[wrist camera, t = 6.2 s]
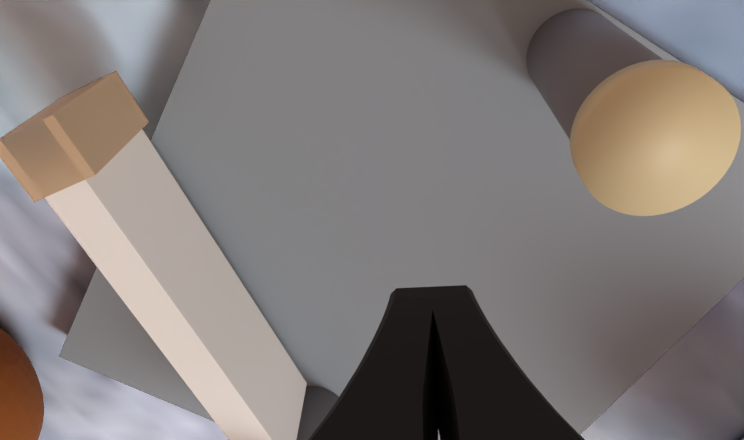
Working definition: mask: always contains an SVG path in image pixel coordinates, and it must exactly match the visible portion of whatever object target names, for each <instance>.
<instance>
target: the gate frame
mask: <svg viewBox="0 0 744 440" xmlns="http://www.w3.org/2000/svg"><path fill="white" fill-rule="evenodd" d="M150 142H151V143H152V145H153V146H154V148H155V150H156V151H157V153H158V154H159V156H160V157H161V159H162V160H163V162H164V163H165V165H166V167H167V168H168V170H169V171H170V173H171V174H172V176H173V177H174V179H175V180H176V182H177V184H178V185H179V187H180V188H181V190H182V191H183V193H184V194H185V196H186V197H187V199H188V200H189V202H190V204H191V205H192V207H193V208H194V210H195V211H196V213H197V214H198V216H199V217H200V219H201V221H202V222H203V224H204V225H205V227H206V228H207V230H208V231H209V233H210V234H211V236H212V238H213V239H214V241H215V242H216V244H217V245H218V247H219V248H220V250H221V251H222V253H223V255H224V256H225V258H226V259H227V261H228V262H229V264H230V265H231V267H232V268H233V270H234V271H235V273H236V275H237V276H238V278H239V279H240V281H241V282H242V284H243V285H244V287H245V288H246V290H247V292H248V293H249V295H250V296H251V298H252V299H253V301H254V302H255V304H256V305H257V307H258V309H259V310H260V312H261V313H262V315H263V316H264V318H265V319H266V321H267V322H268V324H269V326H270V327H271V329H272V330H273V332H274V333H275V335H276V336H277V338H278V339H279V341H280V343H281V344H282V346H283V347H284V349H285V350H286V352H287V353H288V355H289V356H290V358H291V359H292V361H293V363H294V364H295V366H296V367H297V369H298V370H299V372H300V373H301V375H302V376H303V378H304V380H305V381H306V383H307V385H306V391H305V396H304V402H303V407H302V412H301V418H300V423H299V429H298V434H297V439H296V440H308V439H309V438H310V437H311V435H312V434H313V433H314V431H315V430H316V429H317V428H318V426H319V425H320V424H321V422H322V421H323V420H324V418H325V417H326V415H327V414H328V413H329V411H330V410H331V408H332V407H333V406H334V404H335V403H336V401H337V400H338V398H339V397H340V395H341V393H342V392H343V390H344V389H345V387H346V385H347V384H348V382H349V381H350V379H351V377H352V376H353V374H354V373H355V371H356V369H357V368H358V366H359V364H360V362H361V360H362V359H363V357H364V355H365V353H366V351H367V349H368V347H369V345H370V343H371V341H372V340H373V338H374V336H375V334H376V331H377V329H378V327H379V325H380V323H381V320H382V318H383V316H384V313H385V310H386V308H387V305H388V302H389V298H390V294H391V293H392V292H393V291H394V290H395V289H396V288H412V287H435V286H457V285H467V286H468V287H469V288H470V289H471V290H472V291H473V293H474V296H475V298H476V300H477V302H478V304H479V306H480V308H481V310H482V311H483V313H484V315H485V317H486V318H487V320H488V322H489V323H490V325H491V326H492V328H493V330H494V331H495V333H496V334H497V336H498V337H499V339H500V340H501V342H502V343H503V345H504V346H505V347H506V349H507V350H508V351H509V353H510V354H511V356H512V357H513V358H514V360H515V361H516V363H517V364H518V365H519V367H520V368H521V369H522V370H523V372H524V373H525V374H526V376H527V377H528V378H529V379H530V381H531V382H532V383H533V384H534V385H535V387H536V388H537V389H538V390H539V391H540V393H541V394H542V395H543V396H544V397H545V398H546V400H547V401H548V402H549V403H550V404H551V405H552V406H553V407H554V409H555V410H556V411H557V412H558V413H559V414H560V415H561V416H562V417H563V418H564V419H565V420H566V421H567V422H568V423H569V424H570V425H571V426H572V427H573V428H574V429H575V430H576V431H577V432H578V434H579V435H580V434H581V433H582V432H583V431H584V430H585V429H587V428H588V427H589V426H590V425H591V424H592V423H593V422H594V421H595V420H596V419H597V418H598V417H599V416H600V415H601V414H602V413H603V412H604V411H605V410H606V409H607V408H608V407H609V406H611V405H612V404H613V403H614V402H615V401H616V400H617V399H618V398H619V397H620V396H621V395H622V394H623V393H624V392H625V391H626V390H627V389H628V388H629V387H630V386H631V385H632V384H633V383H635V382H636V381H637V380H638V379H639V378H640V377H641V376H642V375H643V374H644V373H645V372H646V371H647V370H648V369H649V368H650V367H651V366H652V365H653V364H654V363H655V362H656V361H657V360H659V359H660V358H661V357H662V356H663V355H664V354H665V353H666V352H667V351H668V350H669V349H670V348H671V347H672V346H673V345H674V344H675V343H676V342H677V341H678V340H679V339H680V338H681V337H683V336H684V335H685V334H686V333H687V332H688V331H689V330H690V329H691V328H692V327H693V326H694V325H695V324H696V323H697V322H698V321H699V320H700V319H701V318H702V317H703V316H704V315H705V314H707V313H708V312H709V311H710V310H711V309H712V308H713V307H714V306H715V305H716V304H717V303H718V302H719V301H720V300H721V299H722V298H723V297H724V296H725V295H726V294H727V293H728V292H729V291H731V290H732V289H733V288H734V287H735V286H736V285H737V284H738V283H739V282H740V281H741V280H742V279H743V278H744V102H742V101H741V100H739V99H737V98H736V97H734V96H733V95H731V94H730V93H729V92H728V91H727V90H726V89H725V88H724V87H723V86H722V85H721V84H720V83H718V82H717V81H716V80H714V79H713V78H711V77H710V76H708V75H707V74H705V73H704V72H702V71H701V70H699V69H697V68H695V67H694V66H692V65H689V64H686V63H683V62H681V61H679V60H678V59H676V58H675V57H673V56H672V55H670V54H669V53H667V52H666V51H664V50H662V49H661V48H659V47H658V46H656V45H655V44H653V43H652V42H650V41H649V40H647V39H646V38H644V37H643V36H641V35H639V34H638V33H636V32H635V31H633V30H632V29H630V28H629V27H627V26H626V25H624V24H623V23H621V22H620V21H618V20H616V19H615V18H613V17H612V16H610V15H609V14H607V13H606V12H604V11H603V10H601V9H600V8H598V7H597V6H595V5H594V4H592V3H590V2H589V1H587V0H210V3H209V5H208V7H207V10H206V12H205V14H204V17H203V19H202V21H201V24H200V26H199V28H198V31H197V33H196V35H195V38H194V40H193V42H192V45H191V47H190V50H189V52H188V54H187V57H186V59H185V61H184V64H183V66H182V68H181V71H180V73H179V75H178V78H177V80H176V82H175V85H174V87H173V89H172V92H171V94H170V96H169V99H168V101H167V103H166V106H165V108H164V111H163V113H162V115H161V118H160V120H159V122H158V125H157V127H156V129H155V132H154V134H153V136H152V139H151V141H150ZM59 357H62V358H64V359H66V360H69V361H71V362H74V363H76V364H78V365H81V366H83V367H86V368H88V369H90V370H93V371H95V372H97V373H100V374H102V375H105V376H107V377H109V378H112V379H114V380H116V381H119V382H121V383H124V384H126V385H128V386H131V387H133V388H136V389H138V390H140V391H143V392H145V393H147V394H150V395H152V396H155V397H157V398H159V399H162V400H164V401H166V402H169V403H171V404H174V405H176V406H178V407H181V408H183V409H186V410H188V411H190V412H193V413H195V414H197V415H200V416H202V417H205V418H207V419H209V420H212V421H214V420H213V418H212V417H211V416H210V414H209V413H208V412H207V410H206V409H205V408H204V407H203V405H202V404H201V403H200V401H199V400H198V399H197V397H196V396H195V395H194V393H193V392H192V391H191V389H190V388H189V387H188V386H187V384H186V383H185V382H184V380H183V379H182V378H181V376H180V375H179V374H178V372H177V371H176V370H175V368H174V367H173V366H172V365H171V363H170V362H169V361H168V359H167V358H166V357H165V355H164V354H163V353H162V351H161V350H160V349H159V347H158V346H157V345H156V344H155V342H154V341H153V340H152V338H151V337H150V336H149V334H148V333H147V332H146V330H145V329H144V328H143V326H142V325H141V324H140V323H139V321H138V320H137V319H136V317H135V316H134V315H133V313H132V312H131V311H130V309H129V308H128V307H127V305H126V304H125V303H124V301H123V300H122V299H121V298H120V296H119V295H118V294H117V292H116V291H115V290H114V288H113V287H112V286H111V284H110V283H109V282H108V280H107V279H106V278H105V277H104V275H103V274H102V273H101V271H100V270H99V269H98V267H97V268H96V270H95V272H94V275H93V277H92V280H91V282H90V284H89V287H88V289H87V291H86V294H85V296H84V298H83V301H82V303H81V305H80V308H79V310H78V312H77V315H76V317H75V319H74V322H73V324H72V326H71V329H70V331H69V333H68V336H67V338H66V341H65V343H64V345H63V348H62V350H61V352H60V355H59ZM214 422H215V421H214ZM438 440H440V435H439V429H438Z"/></svg>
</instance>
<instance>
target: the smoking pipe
mask: <svg viewBox="0 0 744 440" xmlns="http://www.w3.org/2000/svg"><path fill="white" fill-rule="evenodd" d="M43 416H44V403H43V394H42V390H41V386H40V383H39V380H38V377H37V374H36V372H35V370H34V368H33V366H32V364H31V362H30V360H29V358H28V357H27V355H26V354H25V352H24V351H23V350H22V348H21V347H20V346H19V345H18V344H17V343H16V342H15V341H14V340H13V339H12V338H11V337H10V336H9V335H8V334H7V333H6V332H5V331H3V330H2V329H0V440H38V438H39V435H40V431H41V428H42V423H43Z"/></svg>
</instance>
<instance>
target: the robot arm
mask: <svg viewBox="0 0 744 440" xmlns="http://www.w3.org/2000/svg"><path fill="white" fill-rule="evenodd" d="M438 429H439V435H440V440H585V439H583V438H582V437H581V436H580V435H579V434H578V432H577V431H576V430H575V429H574V428H573V427H572V426H571V425H570V424H569V423H568V422H567V421H566V420H565V419H564V418H563V417H562V416H561V415H560V414H559V413H558V412H557V411H556V410H555V409H554V407H553V406H552V405H551V404H550V403H549V402H548V401H547V400H546V398H545V397H544V396H543V395H542V394H541V393H540V391H539V390H538V389H537V388H536V387H535V385H534V384H533V383H532V382H531V381H530V379H529V378H528V377H527V376H526V374H525V373H524V372H523V370H522V369H521V368H520V367H519V365H518V364H517V363H516V361H515V360H514V358H513V357H512V356H511V354H510V353H509V351H508V350H507V349H506V347H505V346H504V345H503V343H502V342H501V340H500V339H499V337H498V336H497V334H496V333H495V331H494V330H493V328H492V326H491V325H490V323H489V322H488V320H487V318H486V317H485V315H484V313H483V311H482V310H481V308H480V306H479V304H478V302H477V300H476V298H475V296H474V293H473V291H472V290H471V289H470V288H469V287H468V286H467V285H457V286H435V287H412V288H396V289H395V290H394V291H393V292H392V293H391V294H390V298H389V302H388V305H387V308H386V310H385V313H384V316H383V318H382V320H381V323H380V325H379V327H378V329H377V331H376V334H375V336H374V338H373V340H372V341H371V343H370V345H369V347H368V349H367V351H366V353H365V355H364V357H363V359H362V360H361V362H360V364H359V366H358V368H357V369H356V371H355V373H354V374H353V376H352V377H351V379H350V381H349V382H348V384H347V385H346V387H345V389H344V390H343V392H342V393H341V395H340V397H339V398H338V400H337V401H336V403H335V404H334V406H333V407H332V408H331V410H330V411H329V413H328V414H327V415H326V417H325V418H324V420H323V421H322V422H321V424H320V425H319V426H318V428H317V429H316V430H315V431H314V433H313V434H312V435H311V437H310V438H309V439H308V440H438ZM742 440H744V438H743V439H742Z"/></svg>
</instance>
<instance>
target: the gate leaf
mask: <svg viewBox="0 0 744 440" xmlns="http://www.w3.org/2000/svg"><path fill="white" fill-rule="evenodd" d="M148 123H149V121H148V120H147V118H146V116H145V115H144V113H143V112H142V110H141V109H140V107H139V105H138V104H137V102H136V101H135V99H134V98H133V96H132V95H131V93H130V91H129V90H128V88H127V87H126V85H125V84H124V82H123V80H122V79H121V77H120V76H119V74H118V73H117V71H114V72H112V73H110V74H108V75H106V76H104V77H102V78H100V79H98V80H96V81H94V82H92V83H90V84H88V85H86V86H84V87H81V88H79V89H77V90H75V91H73V92H71V93H69V94H67V95H65V96H63V97H61V98H60V99H58V100H57V101H55V102H54V103H52V104H51V105H49V106H48V107H46V108H45V109H43V110H42V111H40V112H39V113H37V114H36V115H34V116H33V117H31V118H30V119H28V120H27V121H25V122H24V123H22V124H21V125H19V126H18V127H16V128H15V129H13V130H12V131H10V132H9V133H7V134H6V135H4V136H3V137H1V138H0V158H1V159H2V161H3V162H4V163H5V165H6V166H7V167H8V168H9V170H10V171H11V172H12V174H13V175H14V176H15V178H16V179H17V180H18V181H19V183H20V184H21V185H22V187H23V188H24V189H25V190H26V192H27V193H28V194H29V196H30V197H31V198H32V200H33V201H34V202H36V201H38V200H40V199H43V198H45V199H46V200H47V202H48V203H49V204H50V206H51V207H52V208H53V210H54V211H55V212H56V214H57V215H58V216H59V217H60V219H61V220H62V221H63V223H64V224H65V225H66V227H67V228H68V229H69V231H70V232H71V233H72V235H73V236H74V237H75V238H76V240H77V241H78V242H79V244H80V245H81V246H82V248H83V249H84V250H85V252H86V253H87V254H88V256H89V257H90V258H91V259H92V261H93V262H94V263H95V265H96V266H97V267H98V269H99V270H100V271H101V273H102V274H103V275H104V277H105V278H106V279H107V280H108V282H109V283H110V284H111V286H112V287H113V288H114V290H115V291H116V292H117V294H118V295H119V296H120V298H121V299H122V300H123V301H124V303H125V304H126V305H127V307H128V308H129V309H130V311H131V312H132V313H133V315H134V316H135V317H136V319H137V320H138V321H139V323H140V324H141V325H142V326H143V328H144V329H145V330H146V332H147V333H148V334H149V336H150V337H151V338H152V340H153V341H154V342H155V344H156V345H157V346H158V347H159V349H160V350H161V351H162V353H163V354H164V355H165V357H166V358H167V359H168V361H169V362H170V363H171V365H172V366H173V367H174V368H175V370H176V371H177V372H178V374H179V375H180V376H181V378H182V379H183V380H184V382H185V383H186V384H187V386H188V387H189V388H190V389H191V391H192V392H193V393H194V395H195V396H196V397H197V399H198V400H199V401H200V403H201V404H202V405H203V407H204V408H205V409H206V410H207V412H208V413H209V414H210V416H211V417H212V418H213V420H214V421H215V422H216V424H217V425H218V426H219V428H220V429H221V430H222V431H223V433H224V434H225V435H226V437H227V438H228V439H229V440H296V439H297V434H298V429H299V423H300V418H301V412H302V407H303V402H304V396H305V391H306V385H307V383H306V381H305V380H304V378H303V376H302V375H301V373H300V372H299V370H298V369H297V367H296V366H295V364H294V363H293V361H292V359H291V358H290V356H289V355H288V353H287V352H286V350H285V349H284V347H283V346H282V344H281V343H280V341H279V339H278V338H277V336H276V335H275V333H274V332H273V330H272V329H271V327H270V326H269V324H268V322H267V321H266V319H265V318H264V316H263V315H262V313H261V312H260V310H259V309H258V307H257V305H256V304H255V302H254V301H253V299H252V298H251V296H250V295H249V293H248V292H247V290H246V288H245V287H244V285H243V284H242V282H241V281H240V279H239V278H238V276H237V275H236V273H235V271H234V270H233V268H232V267H231V265H230V264H229V262H228V261H227V259H226V258H225V256H224V255H223V253H222V251H221V250H220V248H219V247H218V245H217V244H216V242H215V241H214V239H213V238H212V236H211V234H210V233H209V231H208V230H207V228H206V227H205V225H204V224H203V222H202V221H201V219H200V217H199V216H198V214H197V213H196V211H195V210H194V208H193V207H192V205H191V204H190V202H189V200H188V199H187V197H186V196H185V194H184V193H183V191H182V190H181V188H180V187H179V185H178V184H177V182H176V180H175V179H174V177H173V176H172V174H171V173H170V171H169V170H168V168H167V167H166V165H165V163H164V162H163V160H162V159H161V157H160V156H159V154H158V153H157V151H156V150H155V148H154V146H153V145H152V143H151V142H150V140H149V139H148V137H147V136H146V134H145V133H144V131H143V128H144V127H145V126H146V125H147V124H148Z"/></svg>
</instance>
